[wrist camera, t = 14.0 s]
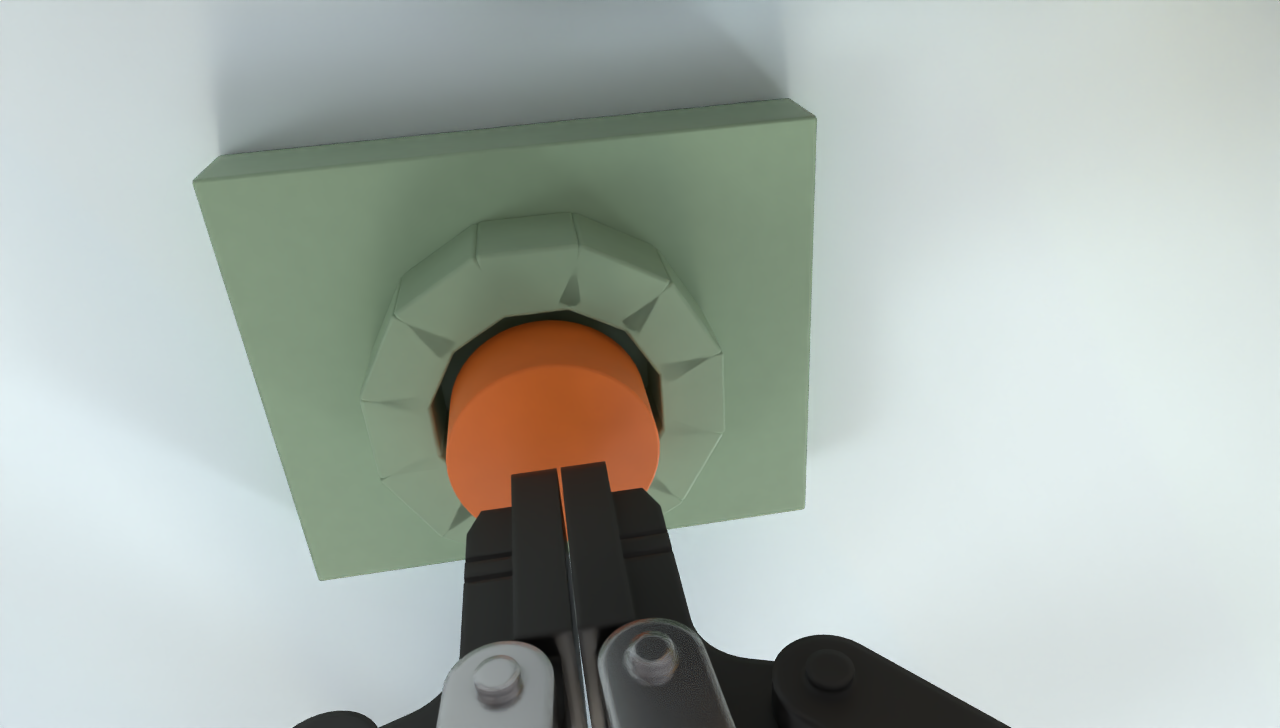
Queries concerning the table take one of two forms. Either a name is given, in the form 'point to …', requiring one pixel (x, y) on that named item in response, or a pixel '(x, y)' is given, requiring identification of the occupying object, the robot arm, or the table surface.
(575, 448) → the button
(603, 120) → the button box
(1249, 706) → the table surface
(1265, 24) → the table surface
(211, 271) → the table surface
